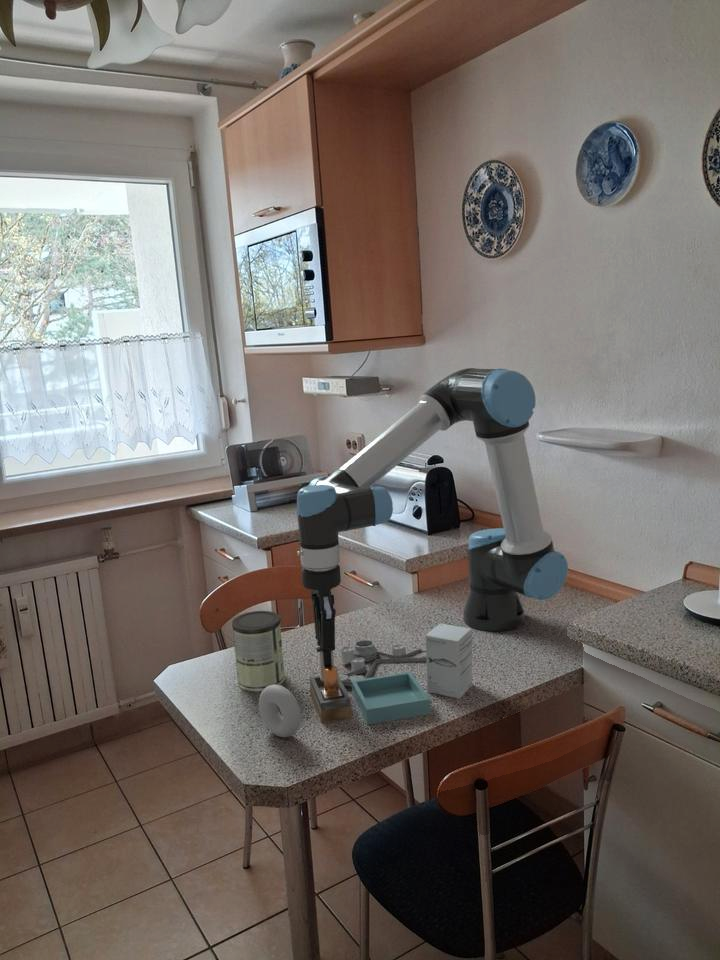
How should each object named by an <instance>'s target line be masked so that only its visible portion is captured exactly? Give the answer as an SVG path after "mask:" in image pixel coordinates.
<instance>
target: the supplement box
mask: <svg viewBox="0 0 720 960" xmlns="http://www.w3.org/2000/svg"><path fill="white" fill-rule="evenodd" d="M425 647H426V658H427V661H426V686H427V687H426V692H427V693H433V694H437V695H442V696H446V697H450V698H455V699H458V700H460V699H461V698H462V697H463V696H464V695H465V694H466V692H468V690H469V689H470V688H471V687H472V686H473V628H468V627H463V626H456V625H451V624H445V623H441V622H440V623H439V624H438V625H436V626H435V627H434V628H432V629H431V630H430V631H429V632H428V633H427V634H426V635H425Z"/></svg>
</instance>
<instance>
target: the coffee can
mask: <svg viewBox="0 0 720 960" xmlns="http://www.w3.org/2000/svg"><path fill="white" fill-rule="evenodd" d="M281 620H282V619H281V615H280V614H278V613H277V612H274V611H269V610H255V611H249V612H248V611H247V612H245V613H243V614H240V615H237V616H235V617H234V618H233V619H232V621H231V627H232V633H233V643H234V652H235V653H234V655H235V666H236V674H237V677H236V678H237V685H238V687H239V688H240V689H242V690H244V691H247V692H255V693H257V692H262V691H263V690H264V689H265V688H266V687H267V686H270V685H273V684H275V685H281V686H282V684H283V683H284V681H285V680H286V676H285V668H284V667H285V666H284V654H283V643H282V642H283V641H282V630H281V622H282V621H281Z"/></svg>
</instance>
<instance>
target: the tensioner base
mask: <svg viewBox="0 0 720 960" xmlns="http://www.w3.org/2000/svg"><path fill="white" fill-rule="evenodd" d="M339 675H340V674H338V688H339V690H340V692H341V694H342V698H338V699H332V700H326V701H324V700H323V697H322V695H321V690H324V681H321V679H320V675H313V676H309V692H310V693H309V694H310V698H311V700H312V702H313V705H314V707H315V710H316V712H317V715H318V717H319V720H320V723H321V724H324V723H330V722H334V721H335V722H337V721H340V720H341V721H342V720H347V719H352V718H353V715H352V714H353V712H352V705H351V697H350V695H349V693H348V691H347V689H346V687H345V685H343V683H342V681H341V679H340V677H339Z"/></svg>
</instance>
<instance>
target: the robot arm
mask: <svg viewBox="0 0 720 960" xmlns="http://www.w3.org/2000/svg"><path fill="white" fill-rule="evenodd" d="M536 401H537V400H536V393H535V390H534V387H533V385H532V383H531V382H530V380H529V379H528V378H527V377H526V376H525V375H524V374H522V373H520V372H518V371H516V370H510V369H507V368H497V369H496V368H476V367H475V368H473V367H470V368H463V369H459V370H457V371H454V372H453V373H451V374H449V375H447V376H446V377H444V378H443V379H441V380H440V381H438V382H437V383H435V384H434V385H432V386H431V387H430V388H429V389H427V390H426V391H425V392H424V393H422V394H421V395H420V396H419V397H418V399H417V404H416V405H415V406H414V407H413V408H411V409H410V410H409V411H408V412H406V413H405V414H404V415H403V416H401V418H399V419H398V420H397V421H395V422H394V423H393V424H392V425H390V426H389V427H388V428H387V429H385V430H384V431H383V432H382V433H381V434H380V435H378V436H377V437H376V438H375V439H373V440H372V441H371V442H370V443H368V444H367V445H366V446H365V447H363V448H362V449H361V450H360V451H359V452H357V454H355V455H354V456H352V457H351V458H350V459H349V460H347V461H346V463H343V464H342V465H341V466H340V467H338V468H337V469H336V471H334V472H333V473H331V474H330V475H329V476H324V477H323V476H322V477H316V478H314V479H313V480H311V481H310V482H309V484H308V485H307V486H306V485H305V486H304V487H302V488H300V489H299V490H298V491H297V494H296V515H297V525H298V526H297V527H298V535H299V536H298V539H299V549H300V550H299V551H297V552H296V554H297V556H298V557H300V564H301V566H302V568H300V569H301V571H300V572H301V584H302V586H303V588H305V589H308V590H311V591H310V600H311V602H312V603H311V604H312V612H313V623H314V631H315V639H316V641H317V642H316V644H317V646H318V647H316V652H317V653H318V665H319V667H318V668H319V676H320V679H321V681H324V678H323V668H324V667H326V666H335V661H334V651H335V650H336V613H337V611H336V608H334V604H335V596H334V594H332V589H334V588H337V587H338V586H339V585H340V584H341V582H342V579H341V578H342V577H341V566H340V565H339V564H340V561H341V560H340V559H341V557H340V555H341V554H340V543H339V534H340V533H341V532H342V533H343V532H347V531H353V530H358V529H359V530H360V529H363V528H368V527H376V526H377V525H381V524H384V523H387V522H388V521H390V520H391V518H392V516H393V513H394V512H393V511H394V508H393V506H394V504H393V500H392V496H391V493H389V491H388V490H387V489H386V488H385V487H383V486H375V484H376V483H378V482H379V481H380V480H381V479H382V478H384V477H385V476H386V475H388V473H389V472H391V471H392V470H393V469H395V468H396V467H397V466H398V465H399V464H400V463H402V462H403V461H405V459H406V458H408V457H409V456H411V454H412V453H414V452H415V451H416V450H417V449H418V448H420V447H421V446H422V445H424V443H426V442H427V441H428V440H429V439H430V438H431V437H432V436H434V435H435V434H437V432H439V431H443V432H444V431H447V430H448V429H449V428H451V427H452V426H453V425H455V424H457V423H459V422H464V421H468V422H473V423H472V424H473V429H474V431H475V437H476V438H477V439H479V440H480V441H481V442H484V445H485V449H486V454H487V458H488V463H489V466H490V473H491V477H492V481H493V486H494V491H495V494H496V495H495V496H496V499H497V504H498V508H499V509H498V510H499V513H500V518H501V519H500V520H501V521H502V527H497V528H487V529H486V528H485V529H483V530H477V531H475V532H472V533H471V534H470V536H469V537H468V548H467V551H468V554H467V555H468V556H467V557H468V579H469V582H468V583H469V592H468V594H467V597H466V600H465V604H464V607H463V610H462V614H463V615H462V619H463V622H464V624H466V625H467V626H468V627H471V628H472V629H476V630H480V631H487V632H500V631H501V632H504V631H510V630H514V629H517V628H519V627H521V626H522V625H523V624H524V623H525V609H524V607H523V604H522V601H521V598H520V596H519V594H521V595H523V596H525V597H527V598H530V599H536V600H539V601H546V600H549V599H551V598H553V597H554V596H556V595H557V594H558V593H559V592H560V591H561V590H562V588H563V585H564V584H565V583H566V581H567V577H568V573H569V572H568V571H569V563H568V560H567V558H566V556H565V555H563V554H562V553H561V552H560V551H555V548H554V543H553V539H552V536H551V534H550V533H549V532H547V531H545V530H544V527H543V522H542V517H541V513H540V507H539V503H538V498H537V493H536V492H537V491H536V488H535V484H534V478H533V474H532V473H533V472H532V467H531V463H530V458H529V454H528V453H529V452H528V449H527V443H526V438H525V433H526V431H528V430H529V429H528V428H529V427H530V423H529V422H530V419H531V418H532V416H533V414H534V411H533V410H534V409H535V408H536V404H537V403H536Z"/></svg>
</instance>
